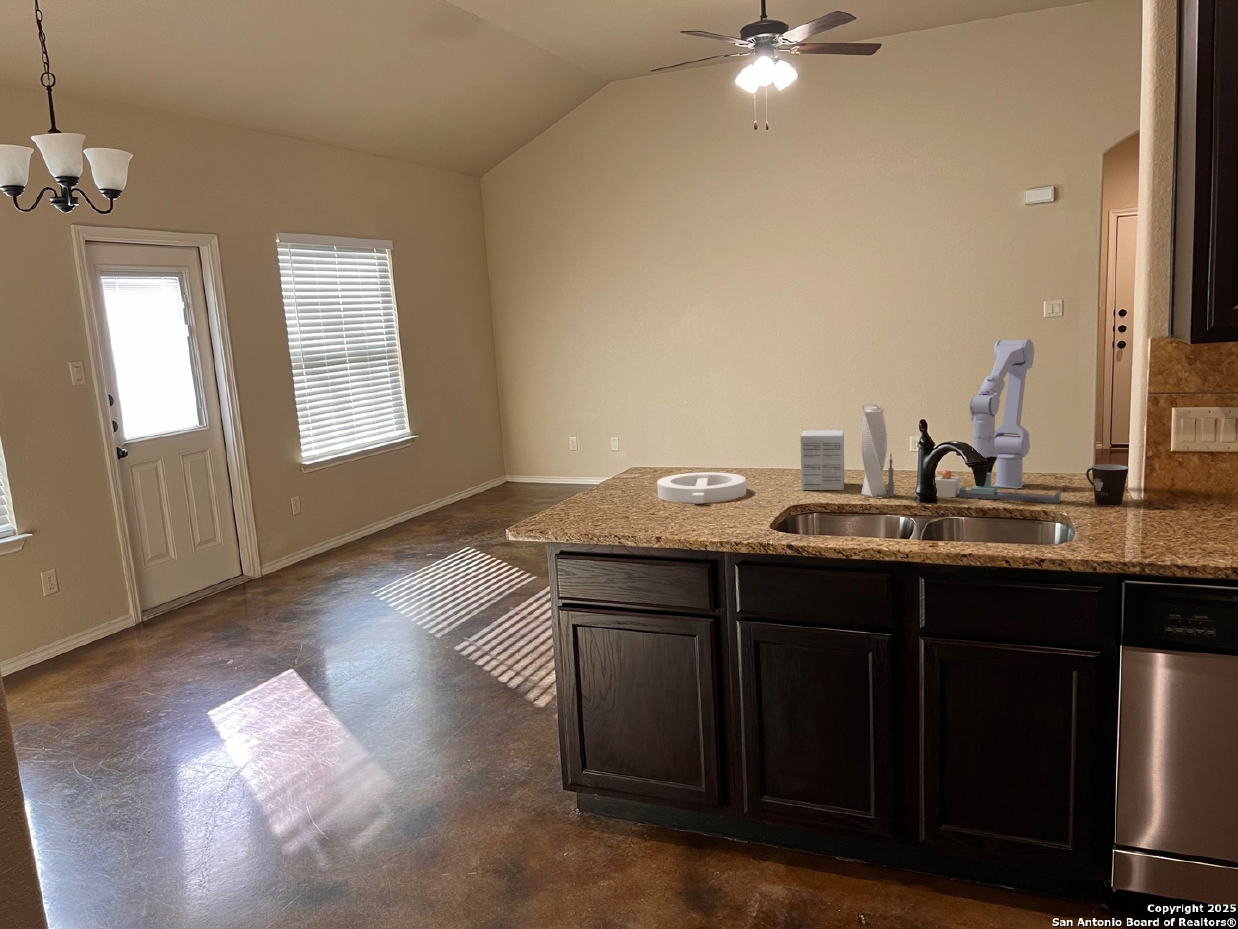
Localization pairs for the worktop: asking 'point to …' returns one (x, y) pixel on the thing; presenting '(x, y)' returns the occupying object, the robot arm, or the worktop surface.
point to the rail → (1012, 496)
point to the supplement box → (822, 460)
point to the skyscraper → (875, 453)
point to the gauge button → (946, 474)
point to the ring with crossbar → (701, 487)
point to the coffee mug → (1108, 483)
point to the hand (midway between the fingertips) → (982, 483)
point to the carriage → (985, 487)
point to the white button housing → (947, 486)
